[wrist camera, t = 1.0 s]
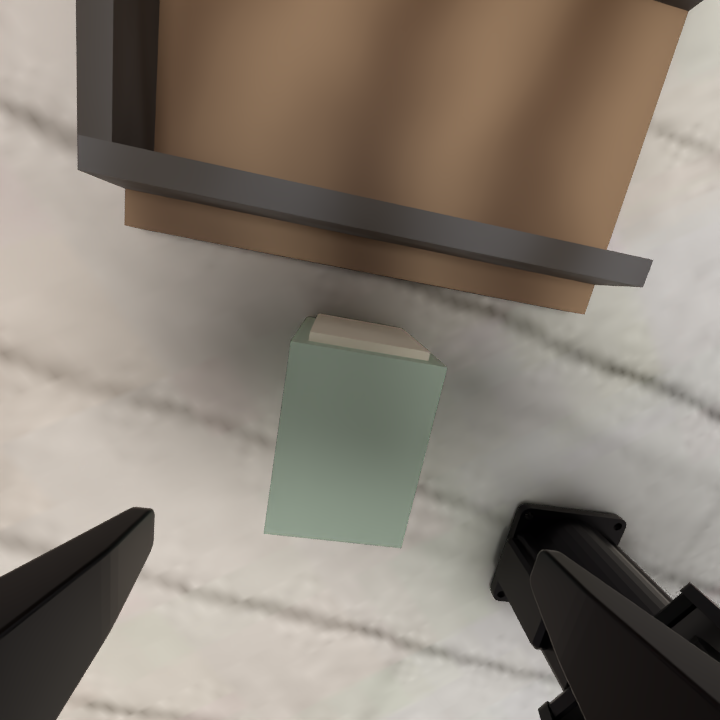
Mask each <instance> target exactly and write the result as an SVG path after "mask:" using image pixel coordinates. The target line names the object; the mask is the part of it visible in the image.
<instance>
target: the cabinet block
mask: <svg viewBox="0 0 720 720" xmlns="http://www.w3.org/2000/svg"><path fill="white" fill-rule="evenodd" d="M446 371H447V367H446V366H445V365H444V364H443V363H442V362H440V361H439V360H438V359H437V358H436V357H435V356H434V355H432V354H431V353H430V352H429V351H428V350H427V349H426V348H425V347H424V346H422V345H421V344H420V343H419V342H418V341H417V340H415V339H414V338H413V337H412V336H411V335H410V334H408V333H407V332H406V331H405V330H404V329H403V328H398V327H392V326H387V325H381V324H376V323H370V322H364V321H359V320H353V319H347V318H342V317H336V316H331V315H325V314H319V313H318V315H317V317H316V318H312V317H307V318H306V319H305V321H304V322H303V324H302V325H301V327H300V328H299V330H298V331H297V333H296V334H295V336H294V337H293V338H292V340H291V342H290V350H289V357H288V364H287V371H286V378H285V385H284V392H283V399H282V407H281V414H280V421H279V428H278V435H277V442H276V449H275V456H274V464H273V471H272V478H271V485H270V492H269V499H268V506H267V513H266V521H265V528H264V534H272V535H281V536H291V537H300V538H310V539H319V540H329V541H338V542H348V543H357V544H366V545H376V546H385V547H395V548H401V547H402V543H403V539H404V535H405V531H406V527H407V523H408V519H409V515H410V512H411V508H412V504H413V500H414V496H415V492H416V488H417V484H418V480H419V476H420V473H421V469H422V465H423V461H424V457H425V453H426V449H427V445H428V441H429V437H430V434H431V430H432V426H433V422H434V418H435V414H436V410H437V406H438V402H439V398H440V395H441V391H442V387H443V383H444V379H445V375H446Z"/></svg>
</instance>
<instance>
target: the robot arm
mask: <svg viewBox="0 0 720 720" xmlns="http://www.w3.org/2000/svg"><path fill="white" fill-rule="evenodd" d="M528 512H529V513H528ZM526 513H528V514H527V515H525V514H526ZM154 518H155V514H154V511H153V510H152V509H150V508H141V507H133V508H130V509H128V510H126V511H124V512H122V513H120V514H119V515H117V516H115V517H113V518H111V519H109V520H107V521H105V522H103V523H101V524H100V525H98V526H96V527H94V528H92V529H90V530H88V531H86V532H84V533H83V534H81V535H79V536H77V537H75V538H73V539H71V540H69V541H67V542H66V543H64V544H62V545H60V546H58V547H56V548H54V549H52V550H50V551H48V552H47V553H45V554H43V555H41V556H39V557H37V558H35V559H33V560H31V561H30V562H28V563H26V564H24V565H22V566H20V567H18V568H16V569H14V570H13V571H11V572H9V573H7V574H5V575H3V576H1V577H0V720H56V719H57V717H58V716H59V714H60V713H61V711H62V709H63V708H64V706H65V704H66V703H67V701H68V700H69V698H70V696H71V695H72V693H73V691H74V690H75V688H76V687H77V685H78V683H79V682H80V680H81V679H82V677H83V675H84V674H85V672H86V670H87V669H88V667H89V666H90V664H91V662H92V661H93V659H94V657H95V656H96V654H97V653H98V651H99V649H100V648H101V646H102V644H103V643H104V641H105V639H106V638H107V636H108V634H109V633H110V631H111V629H112V627H113V625H114V623H115V621H116V619H117V618H118V616H119V614H120V612H121V610H122V608H123V606H124V604H125V602H126V600H127V598H128V596H129V594H130V592H131V590H132V588H133V586H134V584H135V582H136V580H137V578H138V576H139V574H140V572H141V570H142V568H143V566H144V564H145V562H146V560H147V558H148V556H149V554H150V552H151V549H152V546H153V541H154ZM625 528H626V522H625V521H624V520H623V519H622V518H621V517H619V516H618V515H615V514H607V513H599V512H591V511H583V510H575V509H567V508H559V507H551V506H543V505H535V504H523V505H521V506H520V507H519V508H518V509H517V512H516V515H515V518H514V521H513V524H512V527H511V530H510V532H509V535H508V538H507V541H506V543H505V546H504V549H503V552H502V555H501V558H500V561H499V564H498V567H497V570H496V573H495V576H494V579H493V582H492V585H491V589H490V590H491V593H492V595H493V597H494V599H496V600H498V601H506V602H509V603H510V605H511V607H512V608H513V610H514V612H515V614H516V616H517V618H518V620H519V622H520V624H521V626H522V628H523V629H524V631H525V633H526V635H527V637H528V639H529V641H530V643H531V644H532V645H533V647H534V648H535V649H539V650H541V651H542V653H543V655H544V656H545V658H546V660H547V662H548V664H549V666H550V667H551V669H552V671H553V673H554V675H555V677H556V679H557V680H558V682H559V684H560V686H561V688H562V690H563V692H562V693H561V694H560V695H559V696H557V697H556V698H555V699H554V700H553V701H551V702H548V701H547V702H545V703H544V704H543V705H542V706H541V707H540V708H539V709H538V711H539V715H540V718H541V720H720V607H719V606H718V605H716V604H715V603H714V602H713V601H712V600H710V599H709V598H708V597H707V596H706V595H704V594H703V593H702V592H701V591H700V590H698V589H697V588H696V587H695V586H694V585H692V584H691V583H690V582H689V583H688V584H687V585H686V586H684V587H683V588H682V589H681V590H680V591H681V592H682V593H681V594H680V595H679V596H677V597H676V598H675V599H674V600H673V599H672V598H671V597H670V596H668V595H667V594H666V593H665V592H664V591H663V590H662V589H661V588H660V587H659V586H658V585H657V584H656V583H655V582H654V581H653V580H652V579H651V578H650V577H649V576H648V575H647V574H646V573H645V572H644V571H643V570H642V569H641V568H640V567H639V566H638V565H637V564H636V563H635V562H634V561H633V560H632V559H631V558H630V557H629V556H627V555H626V554H625V553H624V552H623V551H622V550H621V549H620V548H619V547H618V544H619V542H620V539H621V537H622V535H623V533H624V530H625Z"/></svg>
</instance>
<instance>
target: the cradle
mask: <svg viewBox="0 0 720 720" xmlns="http://www.w3.org/2000/svg"><path fill="white" fill-rule="evenodd" d="M701 1H703V0H76V45H77V146H78V170H80V171H82V172H85V173H87V174H90V175H92V176H95V177H97V178H100V179H103V180H105V181H108V182H110V183H113V184H115V185H118V186H120V187H123V188H125V225H126V226H131V227H135V228H140V229H145V230H150V231H155V232H160V233H165V234H171V235H176V236H181V237H186V238H191V239H196V240H202V241H207V242H212V243H217V244H222V245H227V246H233V247H238V248H243V249H248V250H253V251H258V252H263V253H269V254H274V255H279V256H284V257H289V258H294V259H300V260H305V261H310V262H315V263H320V264H325V265H331V266H336V267H341V268H346V269H351V270H356V271H361V272H367V273H372V274H377V275H382V276H387V277H392V278H398V279H403V280H408V281H413V282H418V283H423V284H429V285H434V286H439V287H444V288H449V289H454V290H460V291H465V292H470V293H475V294H480V295H485V296H490V297H496V298H501V299H506V300H511V301H516V302H521V303H527V304H532V305H537V306H542V307H547V308H552V309H558V310H563V311H568V312H574V313H580V314H585V311H586V309H587V306H588V303H589V300H590V297H591V294H592V291H593V288H594V285H610V286H630V287H643V286H644V283H645V280H646V278H647V275H648V272H649V270H650V267H651V264H652V262H653V260H650V259H646V258H641V257H637V256H632V255H627V254H623V253H618V252H614V251H609V250H607V247H608V244H609V241H610V239H611V236H612V233H613V230H614V227H615V224H616V221H617V218H618V215H619V212H620V209H621V206H622V204H623V201H624V198H625V195H626V192H627V189H628V186H629V183H630V180H631V177H632V174H633V171H634V168H635V166H636V163H637V160H638V157H639V154H640V151H641V148H642V145H643V142H644V139H645V136H646V133H647V131H648V128H649V125H650V122H651V119H652V116H653V113H654V110H655V107H656V104H657V101H658V98H659V96H660V93H661V90H662V87H663V84H664V81H665V78H666V75H667V72H668V69H669V66H670V63H671V61H672V58H673V55H674V52H675V49H676V46H677V43H678V40H679V37H680V34H681V31H682V28H683V25H684V23H685V20H686V17H687V14H688V11H689V10H691V9H692V8H693V7H695V6H696V5H697V4H699V3H700V2H701Z"/></svg>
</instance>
